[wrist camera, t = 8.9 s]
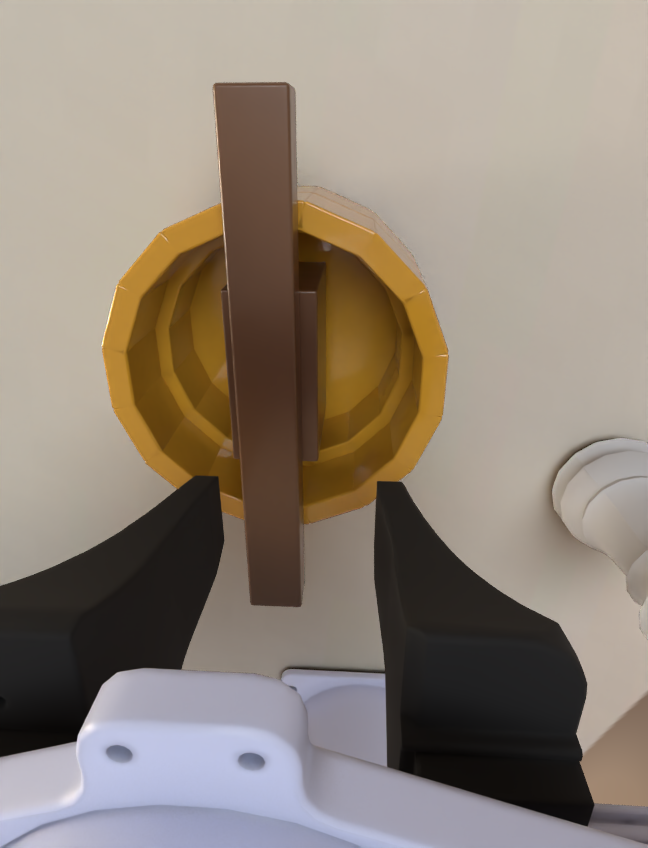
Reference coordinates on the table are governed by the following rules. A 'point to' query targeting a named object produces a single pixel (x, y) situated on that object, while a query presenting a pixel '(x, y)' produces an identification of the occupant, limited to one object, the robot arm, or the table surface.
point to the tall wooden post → (269, 330)
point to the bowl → (345, 356)
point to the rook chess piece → (610, 508)
